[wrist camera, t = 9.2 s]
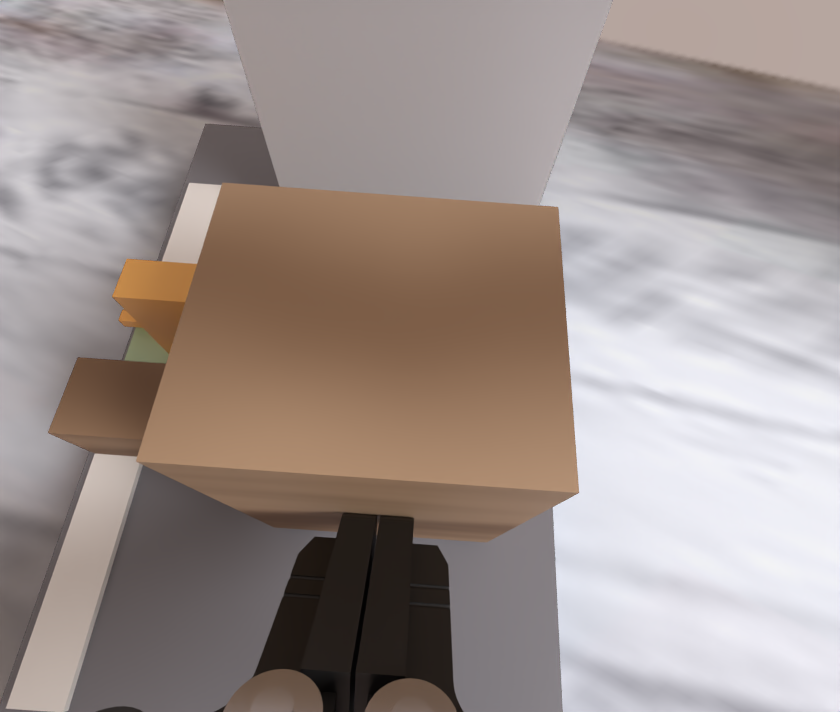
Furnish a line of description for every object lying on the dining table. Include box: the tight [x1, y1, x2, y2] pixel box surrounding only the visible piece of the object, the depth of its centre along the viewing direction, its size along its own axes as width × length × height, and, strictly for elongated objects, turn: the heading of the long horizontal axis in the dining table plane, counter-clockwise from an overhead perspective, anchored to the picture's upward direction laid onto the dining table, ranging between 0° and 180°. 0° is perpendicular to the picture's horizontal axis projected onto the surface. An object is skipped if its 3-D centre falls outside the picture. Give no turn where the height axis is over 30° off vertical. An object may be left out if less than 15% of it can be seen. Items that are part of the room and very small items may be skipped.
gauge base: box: [0, 0, 613, 712], centre depth 12 cm, size 26×14×12 cm, turn 176°
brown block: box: [48, 183, 579, 543], centre depth 11 cm, size 5×11×8 cm, turn 86°
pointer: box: [112, 259, 197, 354], centre depth 15 cm, size 1×4×4 cm, turn 86°
